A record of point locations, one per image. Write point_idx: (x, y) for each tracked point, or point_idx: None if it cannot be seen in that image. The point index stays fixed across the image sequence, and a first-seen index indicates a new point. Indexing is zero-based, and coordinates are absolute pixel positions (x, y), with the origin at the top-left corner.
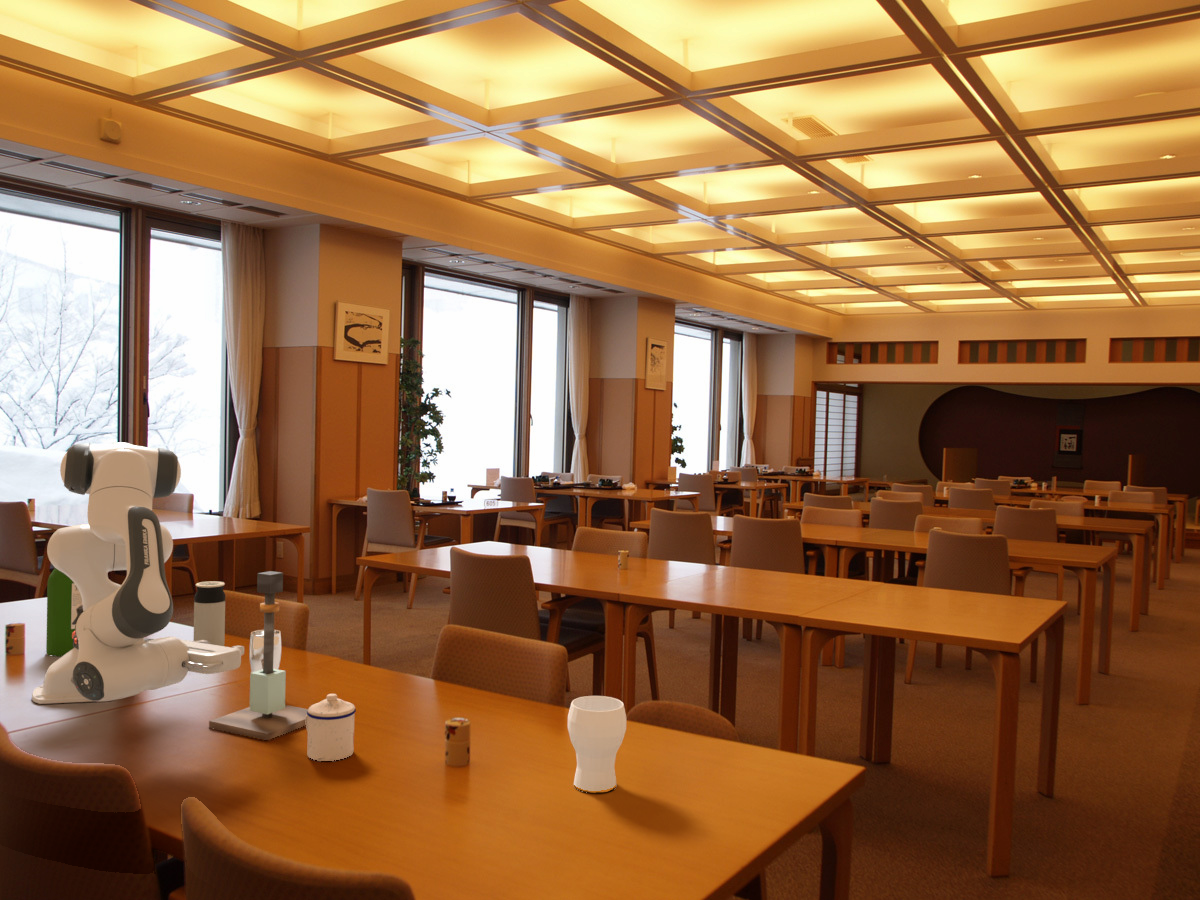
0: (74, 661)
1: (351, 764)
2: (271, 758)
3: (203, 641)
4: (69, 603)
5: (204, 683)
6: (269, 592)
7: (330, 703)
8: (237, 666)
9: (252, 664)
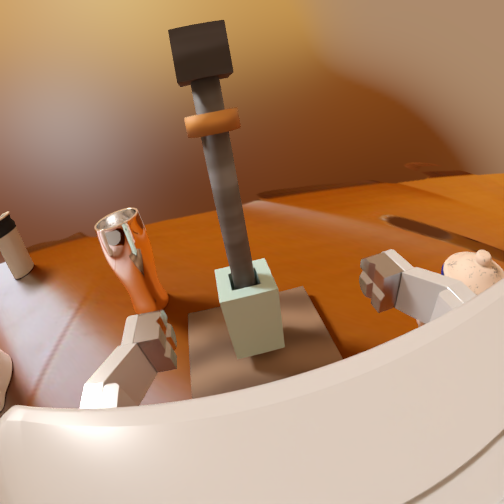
0: None
1: None
2: None
3: (154, 330)
4: None
5: (58, 319)
6: (230, 68)
7: (494, 268)
8: None
9: (123, 274)
